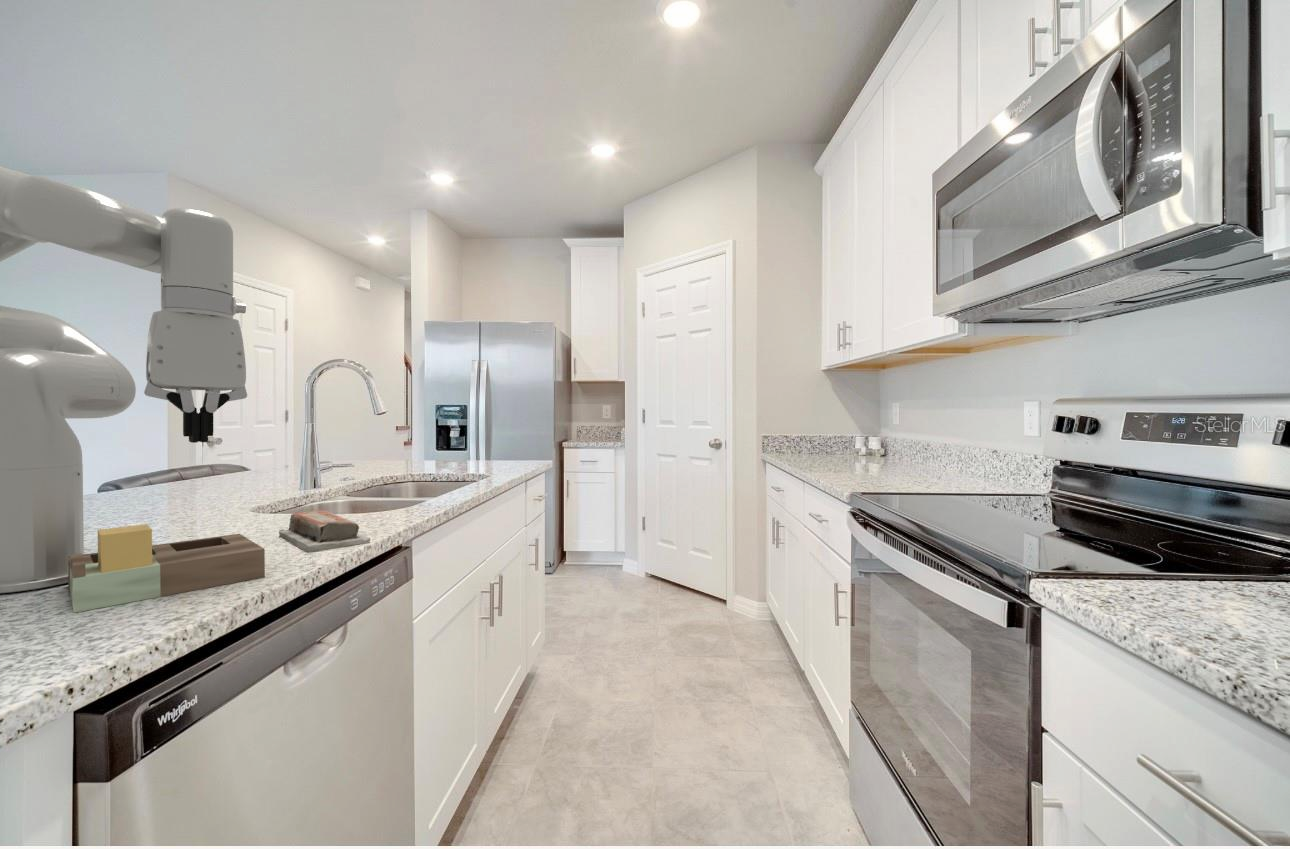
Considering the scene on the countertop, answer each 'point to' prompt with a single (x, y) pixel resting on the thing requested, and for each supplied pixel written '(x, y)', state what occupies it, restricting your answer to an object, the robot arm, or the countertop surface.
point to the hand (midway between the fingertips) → (198, 441)
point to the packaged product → (321, 531)
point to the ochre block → (124, 548)
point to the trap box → (165, 571)
